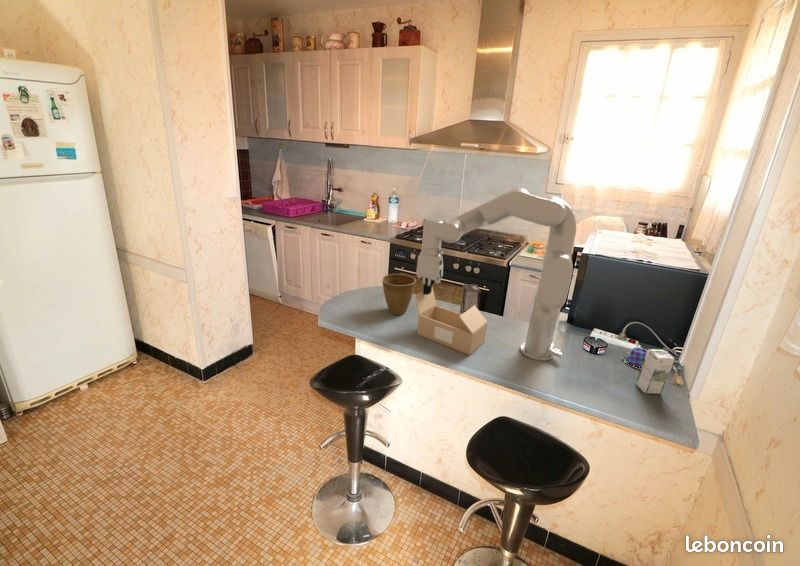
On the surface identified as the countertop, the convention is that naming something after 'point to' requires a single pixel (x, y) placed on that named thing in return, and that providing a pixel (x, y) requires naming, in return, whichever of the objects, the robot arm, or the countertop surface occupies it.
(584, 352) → the countertop surface
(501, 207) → the robot arm
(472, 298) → the coffee box
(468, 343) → the carton
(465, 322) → the near flap
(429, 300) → the far flap
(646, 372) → the syrup box
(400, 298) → the plant pot
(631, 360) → the purple plaid hat
